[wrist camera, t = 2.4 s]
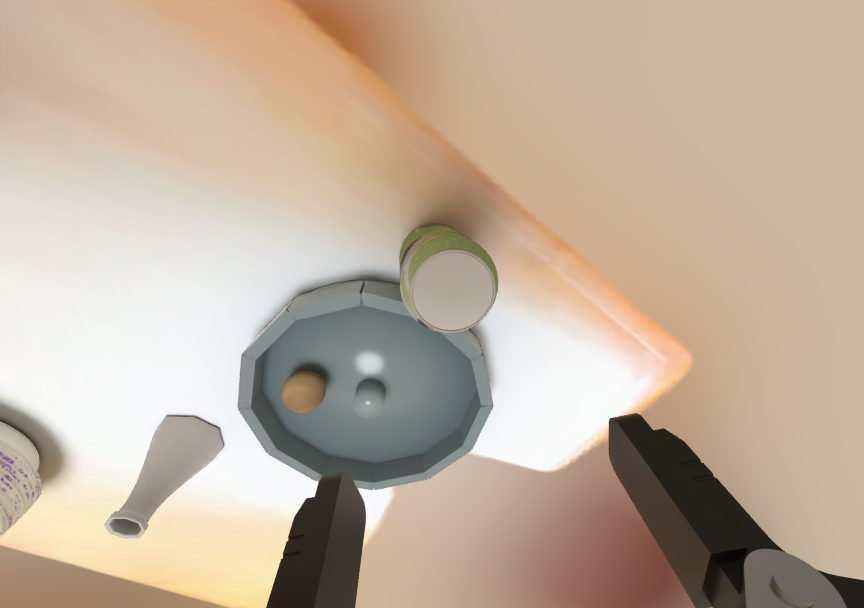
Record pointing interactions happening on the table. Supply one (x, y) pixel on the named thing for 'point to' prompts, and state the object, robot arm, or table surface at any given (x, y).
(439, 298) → the beverage can
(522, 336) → the table surface
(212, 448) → the flask
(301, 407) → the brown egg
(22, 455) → the paper bowls
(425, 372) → the tray
